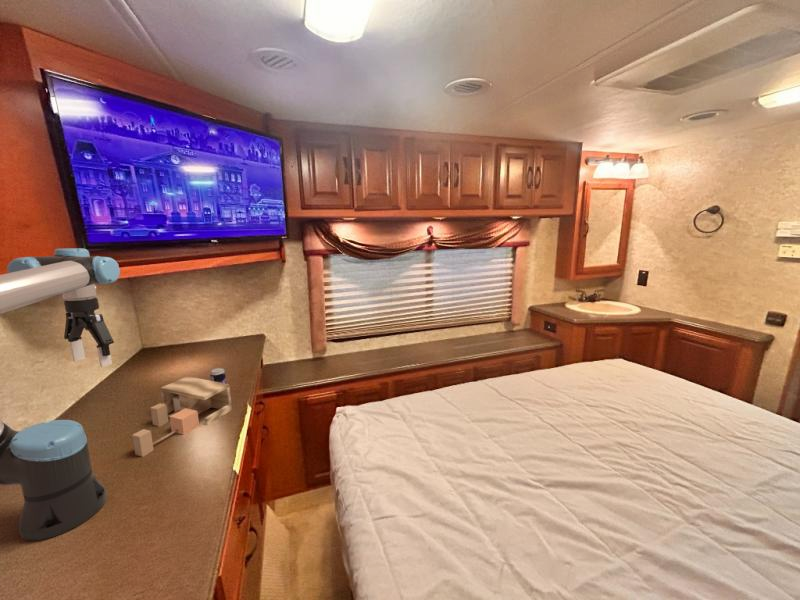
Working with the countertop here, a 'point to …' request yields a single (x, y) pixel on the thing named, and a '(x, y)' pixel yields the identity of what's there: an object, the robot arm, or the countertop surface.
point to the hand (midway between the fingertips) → (92, 362)
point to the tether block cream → (163, 412)
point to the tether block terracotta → (179, 424)
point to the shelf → (198, 396)
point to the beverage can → (218, 375)
